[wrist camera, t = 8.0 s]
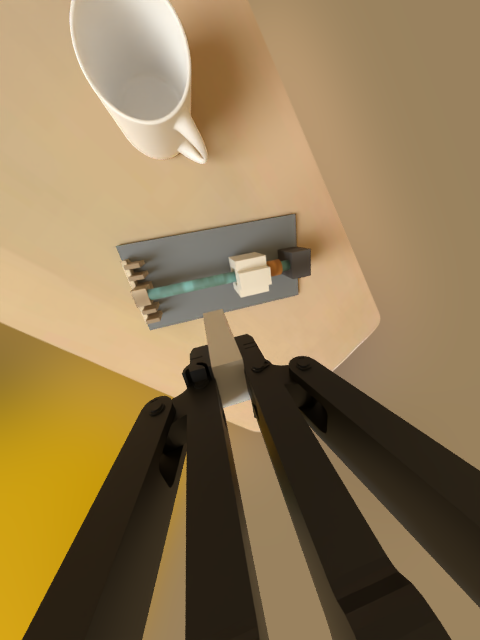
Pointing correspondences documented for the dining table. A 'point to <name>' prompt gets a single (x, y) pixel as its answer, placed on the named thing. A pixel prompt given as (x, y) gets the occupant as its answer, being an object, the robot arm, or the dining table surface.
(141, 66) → the mug
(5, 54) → the dining table surface
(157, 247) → the mat
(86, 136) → the dining table surface
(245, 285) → the sleeve
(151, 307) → the comb rail
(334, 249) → the dining table surface
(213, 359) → the robot arm
